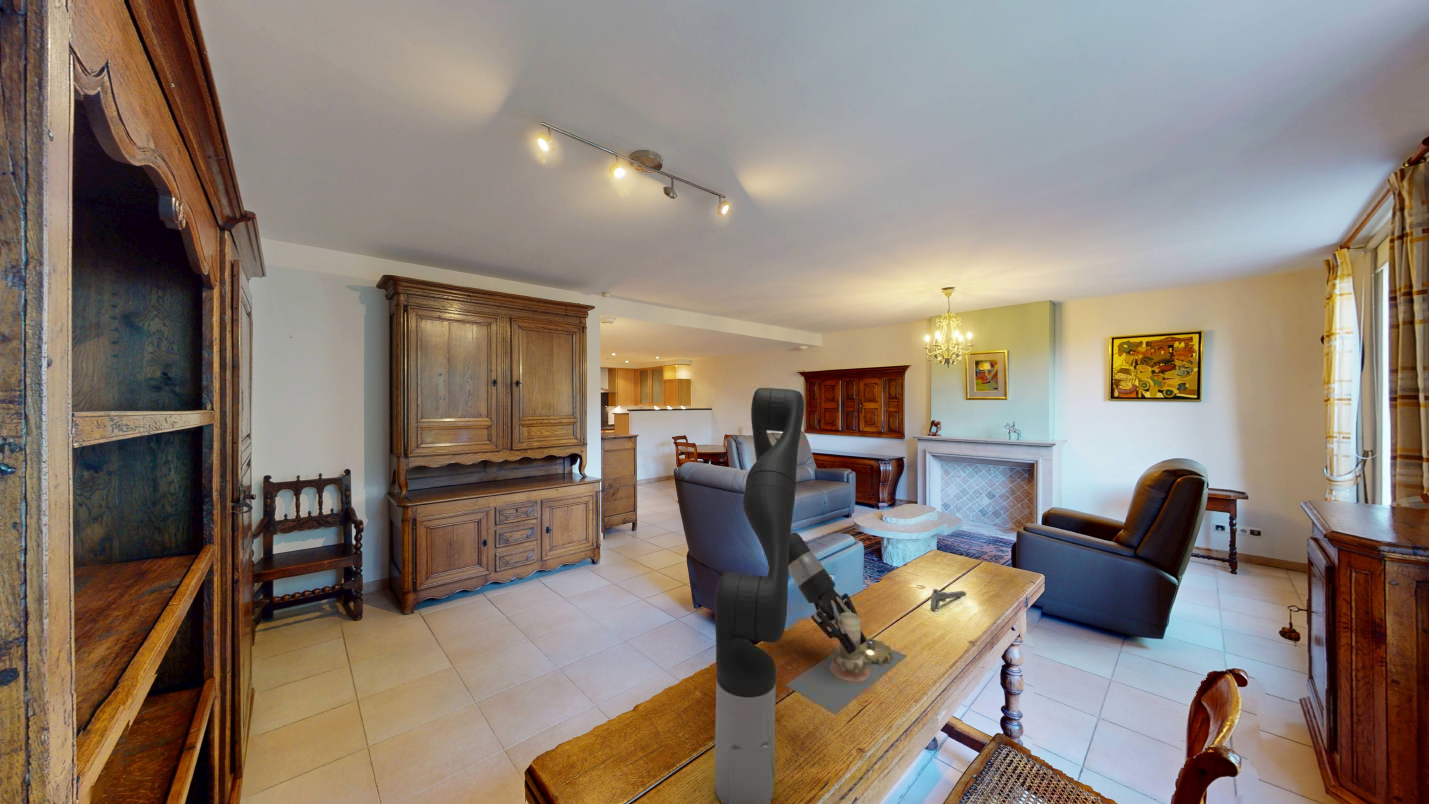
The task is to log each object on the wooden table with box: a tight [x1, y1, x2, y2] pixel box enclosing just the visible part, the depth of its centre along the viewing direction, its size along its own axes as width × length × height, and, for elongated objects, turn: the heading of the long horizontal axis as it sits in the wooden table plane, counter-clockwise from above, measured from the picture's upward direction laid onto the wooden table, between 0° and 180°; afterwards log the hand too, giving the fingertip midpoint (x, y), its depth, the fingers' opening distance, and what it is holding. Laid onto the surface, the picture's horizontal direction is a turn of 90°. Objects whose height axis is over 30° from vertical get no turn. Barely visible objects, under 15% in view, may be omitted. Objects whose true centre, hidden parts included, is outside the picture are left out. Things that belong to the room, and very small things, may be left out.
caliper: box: [930, 588, 967, 612], centre depth 142 cm, size 20×1×6 cm, turn 128°
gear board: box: [785, 648, 908, 715], centre depth 104 cm, size 30×12×2 cm, turn 133°
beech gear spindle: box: [831, 612, 868, 673], centre depth 103 cm, size 8×8×10 cm
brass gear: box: [860, 637, 892, 666], centre depth 110 cm, size 9×9×3 cm
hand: (858, 646), depth 102 cm, fingers closed on beech gear spindle, 4 cm apart
